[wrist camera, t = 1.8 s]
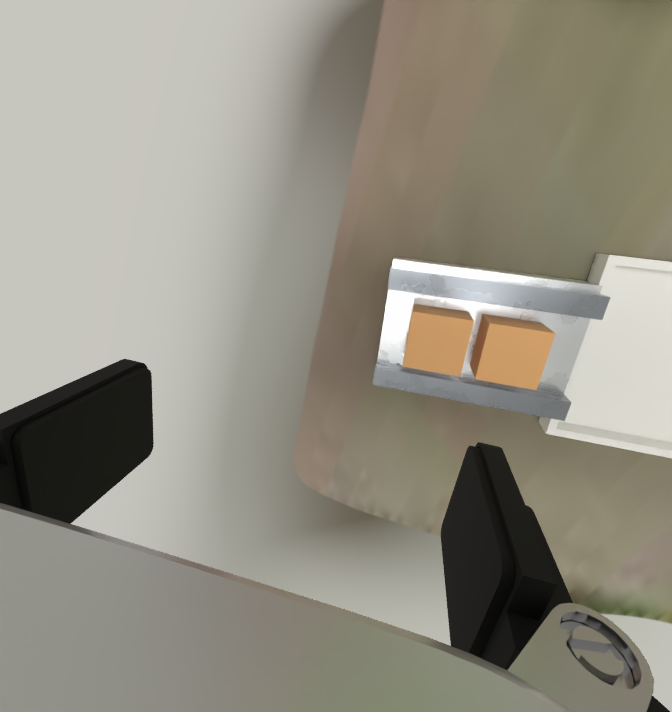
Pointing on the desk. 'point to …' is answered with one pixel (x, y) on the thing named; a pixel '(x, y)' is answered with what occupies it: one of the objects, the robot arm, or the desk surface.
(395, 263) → the slot block
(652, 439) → the tray
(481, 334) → the orange square block
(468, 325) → the chip
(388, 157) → the desk surface
